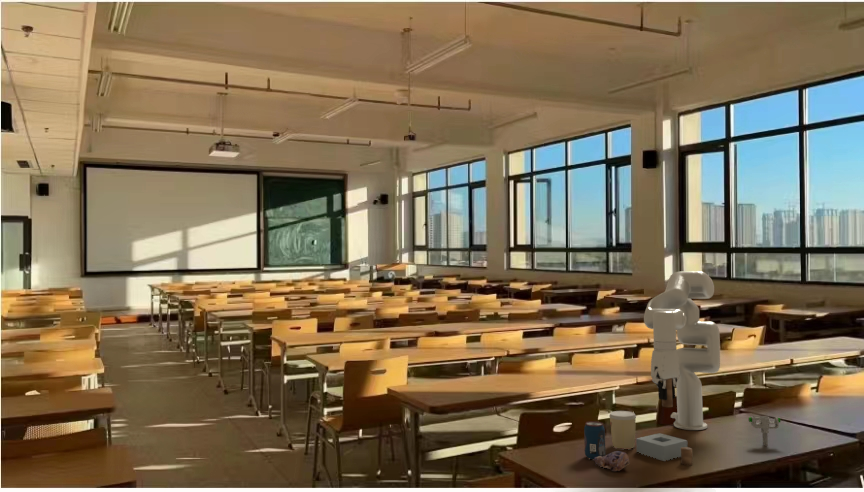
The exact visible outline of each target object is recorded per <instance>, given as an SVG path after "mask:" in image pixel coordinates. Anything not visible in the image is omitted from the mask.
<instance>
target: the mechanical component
mask: <svg viewBox="0 0 864 492" xmlns="http://www.w3.org/2000/svg"><path fill="white" fill-rule="evenodd" d="M757 421H758V422H757ZM748 422H749V423H750V424H751V426H752V427H753V428H755V429H760V433H762V445H763V446H765V447H767V446H768V444H769V442H768V441H769V440H768V434H770V433H769V432H770V431H769V429H774V430H775V429H778V428H779V426H780V424H779V423H781V418H780V417H777V416H776V417H774V419H773V420H771V419H770V417H769V416H765V415H762V416H761V415H759V416H758V415H755V416H754V415H750V417H748ZM770 424H771V425H770ZM773 424H774V425H773Z"/></svg>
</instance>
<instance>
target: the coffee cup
mask: <svg viewBox="0 0 864 492" xmlns="http://www.w3.org/2000/svg"><path fill="white" fill-rule="evenodd" d="M636 418H637V415H636V414H635V412H634V411H633V412H632V411H628V410H616V411H611V412H610V413H609V421H610V423H609V424H610V433H611V434H610V435H611V441H612V447H613V446H614V447H617V448H624V449H626V448H633V447H634V448H635V446H636V444H635V443H636V423H637V422H636ZM614 447H613V448H614ZM617 448H616V449H617ZM634 448H633V449H634ZM624 449H623V450H624Z"/></svg>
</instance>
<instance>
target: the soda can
mask: <svg viewBox="0 0 864 492" xmlns="http://www.w3.org/2000/svg"><path fill="white" fill-rule="evenodd" d="M603 424H604V423H603V422H601V421H595V420H594V421H593V420H592V421H586V422H585V425H584V427H583V428H584V429H583V432H584V434H583V435H584V455H585V456H586V458H587V457H588V458H590V459H594V458H595V457H598V456H606V455H607V454H606V433H605V432H606V430H605V427H604V425H603ZM588 458H587V459H588ZM590 459H589V460H590Z"/></svg>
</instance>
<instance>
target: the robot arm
mask: <svg viewBox="0 0 864 492" xmlns="http://www.w3.org/2000/svg"><path fill="white" fill-rule="evenodd" d="M714 293H715V284H714V282H713V280H712V278H711V277H710V276H709V275H708V274H707V273H706V272H704V271H700V270H694V271H692V270H689V271H686V270H684V271H682V270H681V271H674V272H673V273H672V274H671V275H670V276H669V279H668V281H667V284H666V288H665V291H663V292H662V293H660V294H658V295H656V296H655V297H653V298H652V299H650V300H649V301H648V303H647V305H646V308H645V311H644V314H643V315H644V316H643V323H644V325H645V327H647V328H648V329H649V330H653V331H652V332H653V350H652V352H651V360H650V361H651V362H650V376H651V378H652V379H651V382H652V383H654V384H655V385H656V388H657V391H658V399H659V400H661V401H662V400H667V389H666V388H665V387H666V379H670V378H672V399H673V400H674V399H675V398H676V406H677V407H676V409H677V412H672V413H671V414H670V418H672V419H675V421H674V422H673V427H675V428H678V429H680V430H681V429H682V430H685V431H686V430H687V431H702V430H706V429H708V424H707V423H706V422H704V414H703V412H704V411H703V410H704V409H703V388H702V387H703V385H702V381H701V379H700V377H698V375H697V373H703V374H705V373H706V374H715V373H718V372H719V371H720V367H721V341H720V340H721V339H720V338H721V335H720V329H719V326H718V325H717V323H715V322H714V321H706V320H705V321H701V320H700V308H699V306H698V305H697V304H696V303H695V301H694V300H692V299H695V300H696V299H698V300H706V299H710V298H712V297H713V296H714ZM677 340H678V342H679V343H681V344H682V345H690V346H691V345H692V346H693V345H694V346H696V345H697V346H706V347H707V348H699V347H698V348H697V347H680V348H677ZM661 381H662V383H661Z"/></svg>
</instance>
